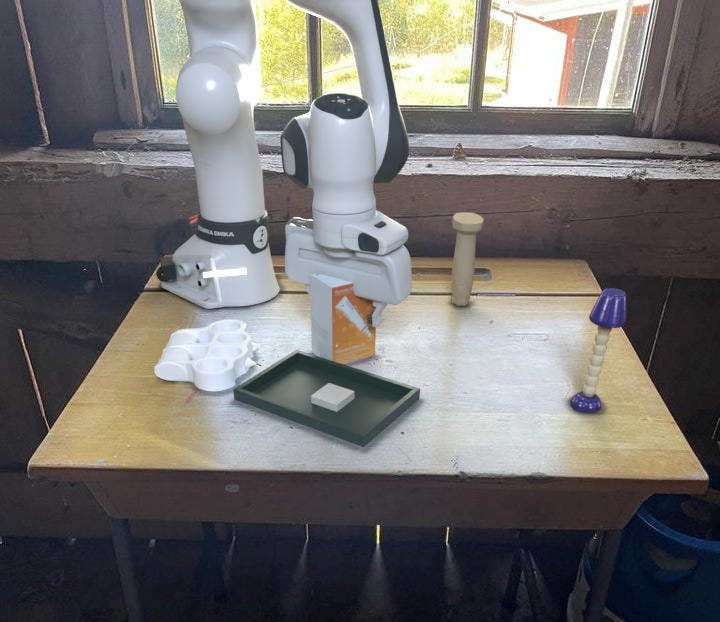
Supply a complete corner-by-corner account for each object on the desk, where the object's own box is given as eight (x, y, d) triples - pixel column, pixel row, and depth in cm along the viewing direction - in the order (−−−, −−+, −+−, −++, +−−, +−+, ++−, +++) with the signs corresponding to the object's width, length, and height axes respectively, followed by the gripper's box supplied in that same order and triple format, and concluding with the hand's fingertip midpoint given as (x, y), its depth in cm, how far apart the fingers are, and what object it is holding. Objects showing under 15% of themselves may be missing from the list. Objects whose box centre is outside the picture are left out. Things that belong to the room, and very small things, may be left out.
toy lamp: (577, 393, 104) (601, 281, 94) (609, 402, 102) (637, 289, 92) (565, 407, 101) (589, 293, 91) (598, 417, 99) (626, 302, 89)
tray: (234, 402, 102) (232, 389, 100) (297, 361, 112) (296, 349, 110) (363, 450, 92) (363, 436, 91) (419, 401, 102) (420, 388, 101)
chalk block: (310, 403, 101) (310, 395, 100) (329, 389, 104) (328, 382, 103) (337, 412, 99) (336, 404, 98) (354, 398, 102) (354, 391, 101)
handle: (450, 310, 127) (457, 224, 118) (443, 296, 132) (450, 212, 123) (477, 310, 128) (486, 223, 119) (469, 295, 133) (478, 212, 124)
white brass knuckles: (177, 337, 118) (267, 338, 118) (150, 393, 104) (253, 394, 103) (174, 318, 116) (265, 319, 116) (146, 372, 102) (251, 373, 101)
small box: (332, 370, 109) (331, 287, 102) (311, 354, 114) (308, 273, 106) (376, 356, 113) (378, 276, 105) (354, 341, 117) (354, 262, 109)
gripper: (271, 221, 104) (279, 311, 112) (395, 245, 95) (394, 341, 103) (297, 209, 108) (303, 297, 116) (418, 231, 99) (415, 325, 107)
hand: (347, 318), depth 110 cm, fingers open, 8 cm apart
